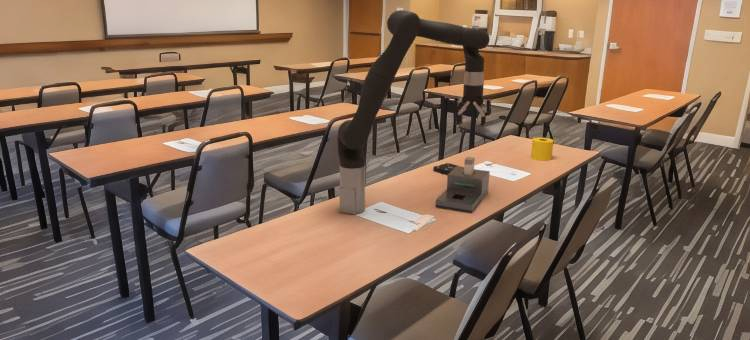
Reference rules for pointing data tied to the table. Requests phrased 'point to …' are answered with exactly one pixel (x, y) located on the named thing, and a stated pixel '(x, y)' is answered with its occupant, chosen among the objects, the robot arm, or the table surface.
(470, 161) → the plug
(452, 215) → the table surface
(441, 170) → the disk drive
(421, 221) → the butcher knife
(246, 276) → the table surface
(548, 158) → the tape roll
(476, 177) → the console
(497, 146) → the table surface
